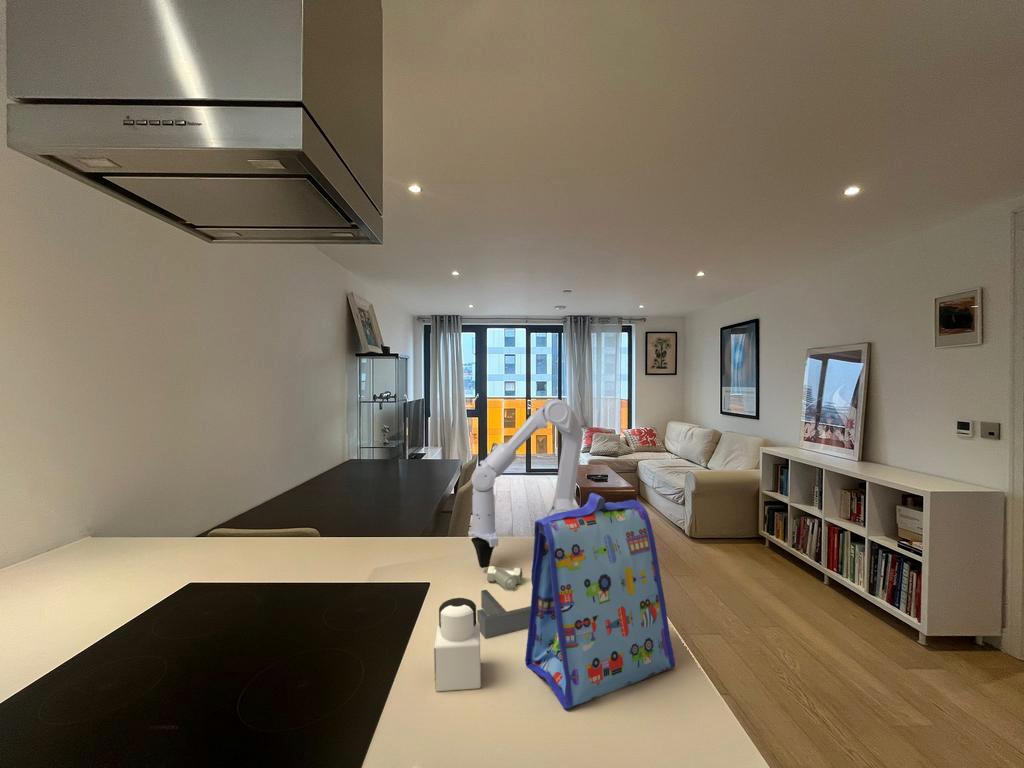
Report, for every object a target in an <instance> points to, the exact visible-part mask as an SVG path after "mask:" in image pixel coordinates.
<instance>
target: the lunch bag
mask: <svg viewBox="0 0 1024 768" xmlns="http://www.w3.org/2000/svg"><path fill="white" fill-rule="evenodd" d="M533 533H534V540H533V541H534V543H533V558H532V567H531V575H530V576H531V585H532V588H531V589H532V590H531V600H530V606H531V608H530V618H529V627H528V628H527V640H526V649H525V659H524V662H525V663H524V664H525V666H526V668H528V669H529V670H530V671H531V672H534V673H536V674H537V675H538V676H540V677H541V678H542V679H545V680H546V682H547V684H548V685H549V687H550V689H551V690H552V692H553V693H554V695H555V696H556V698H557V699H558V701H559V702H560V705H562V706H561V707H562V708H563V709H565V710H568V709H571V708H573V707H575V706H578V705H581V704H584V703H586V702H590V701H592V700H594V699H596V698H598V697H601V696H604V695H606V694H610V693H612V692H614V691H617V690H619V689H622V688H625V687H627V686H630V685H632V684H635V683H637V682H640V681H643V680H645V679H648V678H650V677H652V676H655V675H657V674H660V673H662V672H665V671H668V670H669V669H674V668H675V667H676V659H675V655H674V649H673V644H672V641H671V640H672V639H671V634H670V628H669V627H670V626H669V622H668V613H667V606H666V600H665V595H664V588H663V583H662V578H661V571H660V570H661V569H660V565H659V559H658V553H657V545H656V541H655V536H654V535H655V534H654V532H653V528H652V523H651V520H650V516H649V513H648V511H647V509H646V507H645V506H644V505H643V504H642V503H641V502H639V501H637V500H635V499H630V500H623V501H617V502H611V501H610V502H609V501H608V502H606V500H605V498H604V497H602V496H601V495H599V494H597V493H595V492H591V493H590V494H589V496H588V500H587V502H586V504H584V505H583V506H582V507H578V508H576V509H575V508H574V510H570V511H566V512H561V513H556V514H553V515H551V516H548V517H547V516H545V517H544V518H541V519H538V520H534V532H533Z"/></svg>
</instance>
